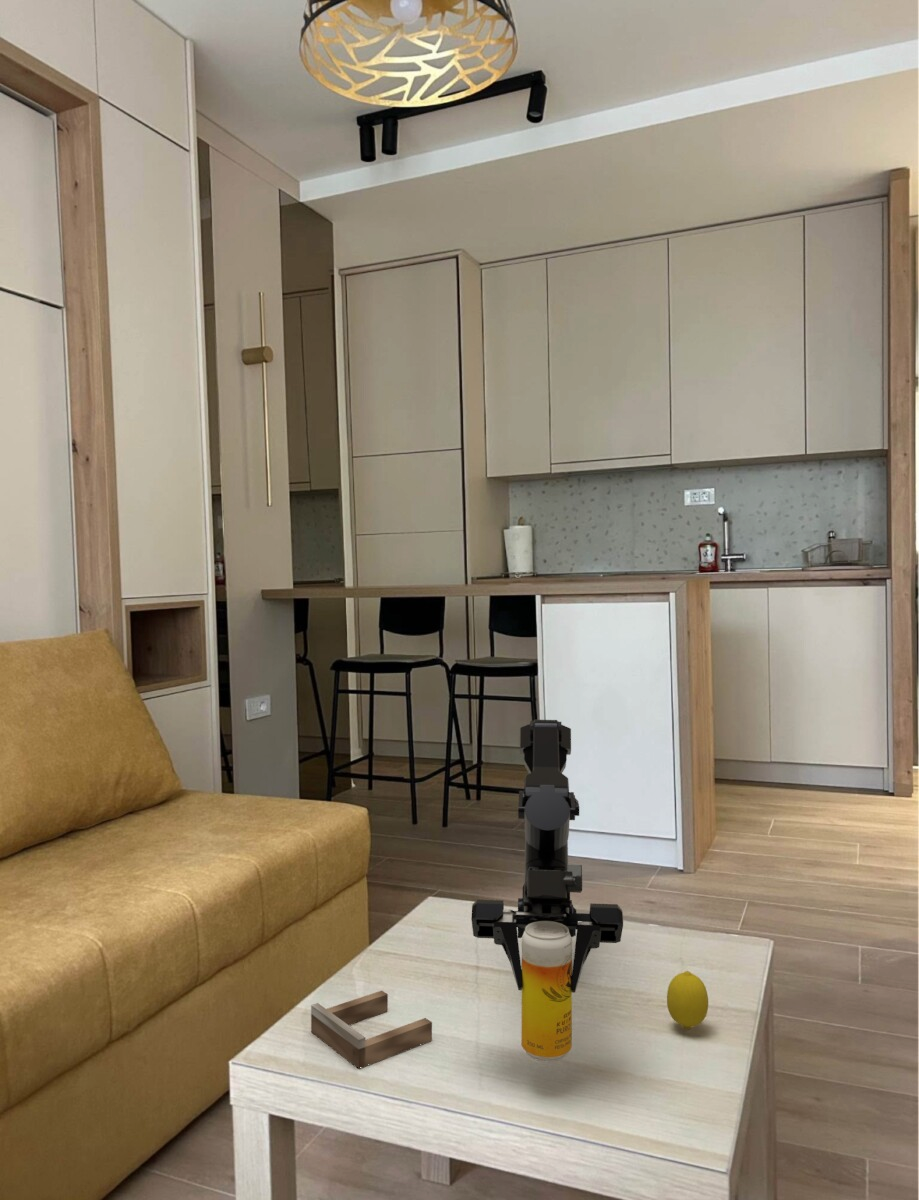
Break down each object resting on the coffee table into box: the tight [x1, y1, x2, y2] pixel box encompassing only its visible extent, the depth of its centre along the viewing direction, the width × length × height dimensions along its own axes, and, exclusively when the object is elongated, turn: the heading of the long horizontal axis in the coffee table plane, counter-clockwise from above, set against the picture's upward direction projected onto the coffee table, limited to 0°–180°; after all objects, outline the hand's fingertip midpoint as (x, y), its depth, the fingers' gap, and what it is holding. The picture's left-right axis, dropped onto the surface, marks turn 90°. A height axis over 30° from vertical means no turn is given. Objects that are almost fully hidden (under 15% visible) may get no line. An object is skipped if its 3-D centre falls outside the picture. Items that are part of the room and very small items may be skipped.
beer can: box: [520, 921, 573, 1063], centre depth 110 cm, size 6×6×15 cm
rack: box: [310, 990, 433, 1069], centre depth 122 cm, size 12×12×4 cm
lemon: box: [666, 970, 709, 1031], centre depth 124 cm, size 6×6×8 cm
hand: (546, 990), depth 109 cm, fingers closed on beer can, 6 cm apart
